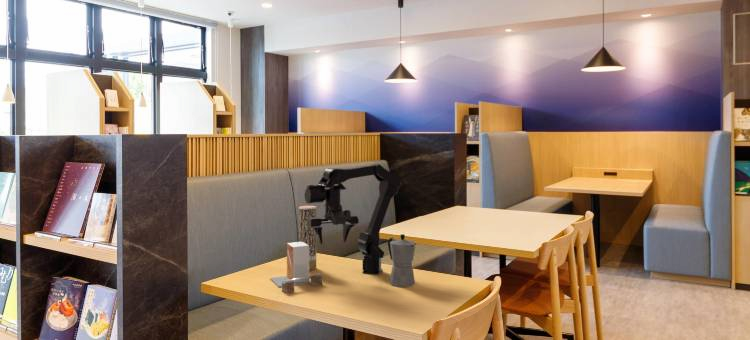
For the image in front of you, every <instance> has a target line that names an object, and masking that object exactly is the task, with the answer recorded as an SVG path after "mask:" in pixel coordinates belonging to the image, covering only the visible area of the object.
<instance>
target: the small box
mask: <svg viewBox="0 0 750 340" xmlns="http://www.w3.org/2000/svg"><path fill="white" fill-rule="evenodd" d="M286 276H287V277H288V278H289V279H296V278H300V277H305V276H310V271H309V245H307V244H306V243H304V242H299V241H293V242H286ZM308 280H309V281H310V278H308V279H303V280H299V281H294V282H300V281H308Z"/></svg>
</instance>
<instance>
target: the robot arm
mask: <svg viewBox="0 0 750 340" xmlns="http://www.w3.org/2000/svg"><path fill="white" fill-rule="evenodd" d="M368 176H373V177H374V178H375V179H376V180H377V181H378V182H379V185H378V191H379V192H378V193H379V196H378V198H377V201H376V204H375V206H374V209H373V213H372V215H371V218H370V221H369V223H368V227H367V229H366V230H365V231H360V232H359V237H358V239H357V240H356V241H357V247H358V249H359V251H360V252H361V254H362V256H363V259H362V272H361V273H363V274H374V275H379V274H380V273H381V272H383V268H382V259H383V258H384V254H385V252H384V251H383V250H382V249H381V247H379V246H380V241H381V239H380V232H381V228H382V226H383V223H384V220H385V217H386V215H387V212H388V209H389V206H390V204H391V200H392V198H393V197H394V196H395V195H397V193H398V191H399V189H400V187H401V185H402V181H401V178H400V177H399V176H398V175H396V174H393V173H392V172H391V171H389V170H387V169H386V168H385V167H383V166H382V165H381V164H380V163H379V164H378V163H372V164H369V165H368V164H367V165H361V166H356V167H349V168H337V167H328V168H326V169H325V170H324V172H323V174H322V177H321V178H320V180H319V181H318V183H317V184H307V185H306V189H305V192H304V200H305V202H306V204H319V203H320V204H322V203H323V202H324V204H323V206H324V210H325V213H324V217H323V218H321V217H319V216H316V217H308V219H307V225H309V226H310V227H312V228H314V230H315V232H316V238H317V239H318V243H319V244H320V245H322V246H323V232H322V231H323V226H322V224H325V225H326V224H332V225H335V226H337V225H342V239H343V241H342V242H343V243H346V242H347V238H348V236H349V233H350V231H351V229H352V228H353V227H355V226H356V225H359V224H360V223H359V222H360V221H359V220H360V219H359V216H357V215H356V214H351V210H350V209H346V210H343V207H342V205H343V204H342V203H341V198H342V197H341V191H342V190H347V187H346V186H344V184H342V183H344V182H347V181H348V180H350V179H357V178H362V177H368Z"/></svg>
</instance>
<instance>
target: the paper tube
mask: <svg viewBox="0 0 750 340" xmlns="http://www.w3.org/2000/svg"><path fill="white" fill-rule="evenodd" d="M308 217H317V206H315V205H302V206H301V205H300V206H298V242H304V243H306V244H307V245H309V272H310V271H314V270H316V269H317V234H316V232H315V230H314V228H312V227H310V226H309V225H307V219H308Z"/></svg>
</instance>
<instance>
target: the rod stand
mask: <svg viewBox="0 0 750 340" xmlns="http://www.w3.org/2000/svg"><path fill="white" fill-rule="evenodd" d="M310 282H311V284H310V285H311V286H313V287H319V286H323V275H319V276H314V277H313V278H310ZM281 292H282V293H285V294H290V293H293V292H295V285H294V281H291V282H287V283H285V284H283V283H282V287H281Z"/></svg>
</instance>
